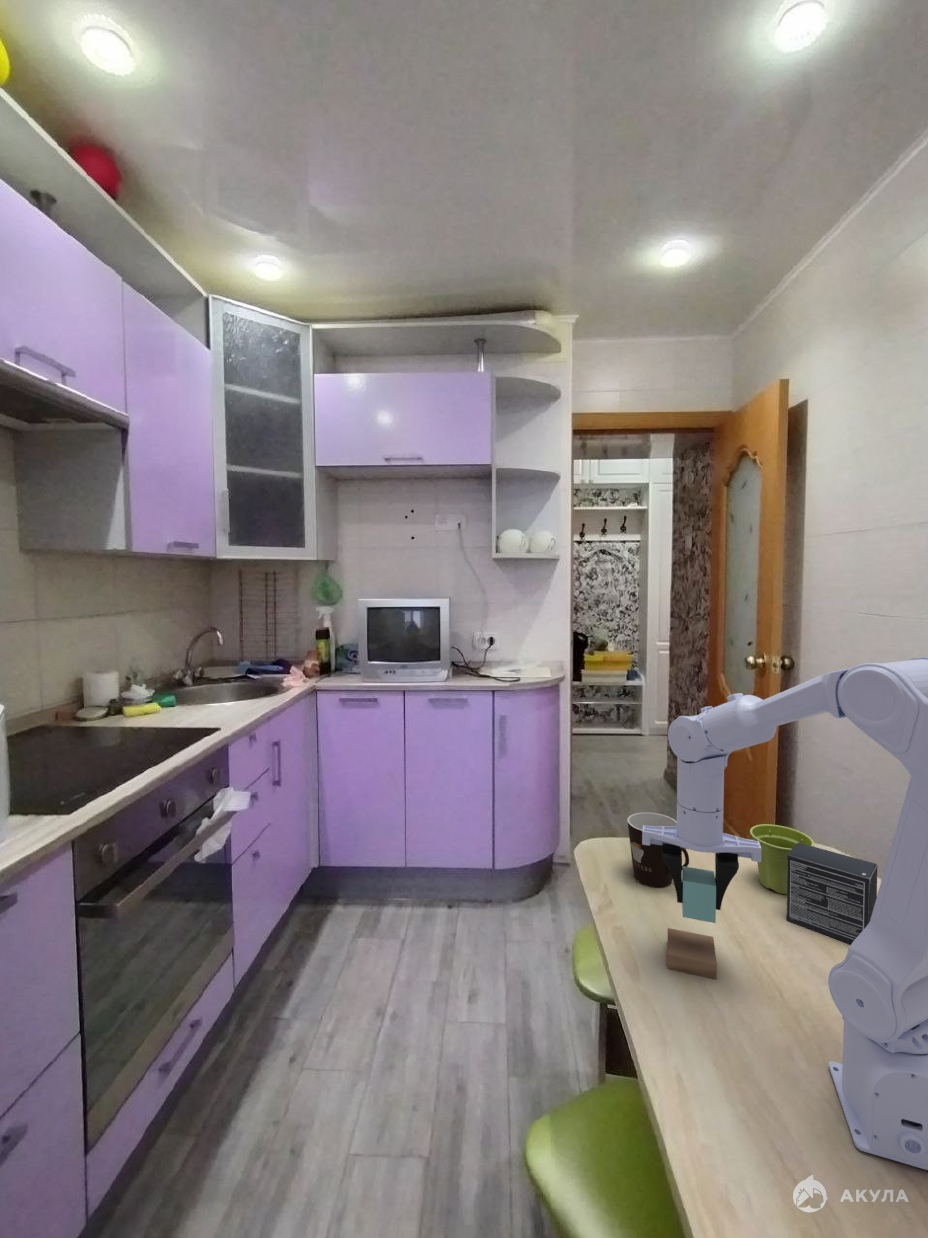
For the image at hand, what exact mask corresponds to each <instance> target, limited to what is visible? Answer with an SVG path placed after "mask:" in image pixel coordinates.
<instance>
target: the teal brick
mask: <svg viewBox="0 0 928 1238" xmlns="http://www.w3.org/2000/svg"><path fill="white" fill-rule="evenodd" d="M682 889H683V903H681V908H682V918H686V919H691V920H692V919H693V920H697V921H701V922H702V921H703V922H708V923H712V924H716V920H717V919H716V917H717V916H716V914H717V910H716V882H715V870H708V869H702V868H695V867H689V866H687V867H684V866H683V865H682Z"/></svg>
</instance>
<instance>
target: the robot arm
mask: <svg viewBox="0 0 928 1238" xmlns="http://www.w3.org/2000/svg"><path fill="white" fill-rule="evenodd" d="M726 699H727V702H725V703H721V704H719V705H717V706H714V707H713V706H712V705H710V706H704V707H702V708H700V713H699V714H697V715H696V714H695V715H690V716H689V715H680V716H678V717H677V718H676V719H674V720H673V721H672V722H671V723H670V724H669V727H668V729H667V730H668V731H667V739H668V743H669V747H670V749H671V750H672V752H673V754H674V755H675V756H676V757H677V764H676V765H677V766H676V767H677V770H676V771H677V772H676V773H677V774H676V776H677V777H676V781H677V782H676V821H677V826H644V825H643V829H642V844H643V845H651V844H657V845H662V856H663V859H664V861H665V863H666V865H667V867H668V869H669V872H670V874H671V876H672V883H673V885H674V889H675V893H676V901H677V903H679V904H682V903H683V889H682V866H683V851H682V848H684V849H686V850H690V851H694V852H699V853H709V854H710V853H711V854H712V853H713V854H714V861H715V864H714V865H715V866H714V869H715V870H714V875H715V882H716V911H717V910H718V911H721V909H722V904H723V903H722V902H723V899H724V896H725V893H726V892H727V889H728V886H729V885H730V883H731V881H732V880H733V878H734V877H735V876H736V874H737V873H738V871H739V868H740V865H739V864H740V863H739V858H746V859H750V860H751V861H752V862H756V863H758V862H761V846H760V843H759V841H753V839H747V838H743V837H741V836H736V835H732V834H728V833H725V832H724V797H725V796H724V795H725V790H724V788H725V769H726V768H727V767H728V759H729V756H730V754H732V753H733V752H736V751H740V750H743V749H746V748H749V747H753V746H756V745H761V744H763V743H767V742H769V741H771V740H773V738H774V737H775V735H776V732H777V728H778V727H779V726H782V725H785V724H789V723H792V722H797V721H800V720H804V719H808V718H811V717H814V716H818V715H822V714H825V713H829V714H830V715H832V716H833V717H834V718H836V719H837V718H838V719H843V718H847V719H849V721H850V722H851V723H852V724H853V725H854V726H856V727H857V728H858V729H859V730H861V731H862V732H863V733H864V734H865V735H867V736H868V737H870V738H871V739H872V740H873V741H874V742H876V743H877V744H878V745H879V746H881V747H882V749H885V750H886V751H887V752H888V753H889V754H891V755H892V756H893V757H894V758H895V759H896V760H898V761H899V762H900V764H901V765H903V766H904V767H905V769H906V771H907V772H908V773H909V775H910V779H909V782H908V787H907V789H906V793H905V797H904V801H903V803H902V808H901V811H900V814H899V817H898V821H897V825H896V829H895V832H894V835H893V839H892V842H891V847H890V850H889V854H888V857H887V861H886V863H885V866H884V871H883V874H882V878H881V881H880V885H879V888H878V890H877V898H876V902H875V905H874V909H873V912H872V916H871V919H870V922H869V924H868V925H867V926H866V928H865V929H864V930H863V931H862V932H861V933H860V934H859V936H858V937H857V938H856V939H855V940H854V941H853V943H852V944H849V946H848V949H847V953H846V955H845V958H844V959H843V960H842V961H840V962H839V963H837V964H835V965H834V966H833V967H832V968H831V969H830V971H829V973H828V979H827V982H828V983H827V985H828V989H829V994H830V995H831V999H832V1000H833V1003H834V1004H835V1006H836V1008H837V1010H838V1012H839V1013H840V1015H841V1019H842V1020H843V1027H842V1028H843V1031H842V1032H843V1033H842V1034H843V1035H842V1063H839V1062H836V1061H829V1062H828V1069H829V1072H830V1074H831V1078H832V1080H833V1084H834V1087H835V1089H836V1093H837V1095H838V1099H839V1103H840V1104H841V1107H842V1110H843V1113H844V1117H845V1119H846V1122H847V1125H848V1128H849V1132H850V1135H851V1136H852V1137H851V1138H852V1140H853V1144H854V1146H855V1147H856V1148H857V1149H858V1150H859V1151H861V1152H865V1153H868V1154H871V1155H875V1156H878V1157H882V1158H885V1159H889V1160H892V1161H896V1162H899V1163H902V1164H905V1165H907V1166H908V1165H909V1166H912V1167H915V1168H919V1169H923V1170H926V1171H928V656H921V657H919V656H918V657H914V658H910V659H908V660H900V661H891V662H883V663H882V662H881V663H880V662H879V663H878V662H865V663H860V664H857V665H855V666H853V667H851V668H844V669H839V670H834V671H830V672H827V673H824V674H821V675H819V676H816V677H814V678H811V679H809V680H806V681H805V682H802V683H800V684H797V685H796V686H792V687H790V688H789V689H786V690H784V691H781V692H778V693H776V694H775V695H772V696H769V697H767V698H765V699H763V698H761V697H759V696H756V695H753V694H746V695H744V694H743V693H742V692H741V693H739V692H738V693H733V694H730V695H728V696H727V697H726Z"/></svg>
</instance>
